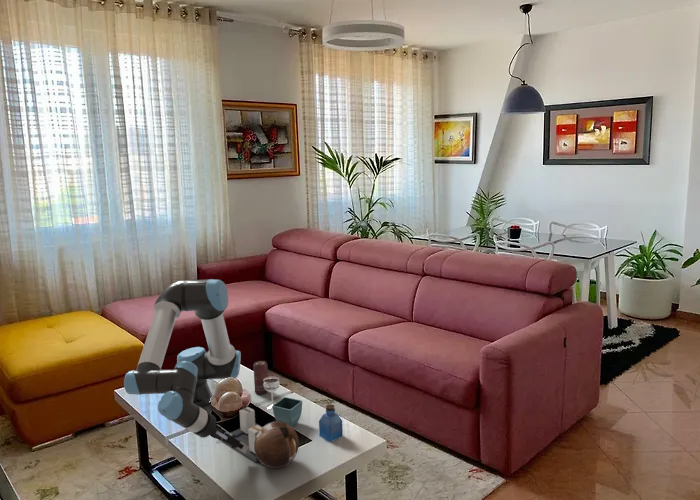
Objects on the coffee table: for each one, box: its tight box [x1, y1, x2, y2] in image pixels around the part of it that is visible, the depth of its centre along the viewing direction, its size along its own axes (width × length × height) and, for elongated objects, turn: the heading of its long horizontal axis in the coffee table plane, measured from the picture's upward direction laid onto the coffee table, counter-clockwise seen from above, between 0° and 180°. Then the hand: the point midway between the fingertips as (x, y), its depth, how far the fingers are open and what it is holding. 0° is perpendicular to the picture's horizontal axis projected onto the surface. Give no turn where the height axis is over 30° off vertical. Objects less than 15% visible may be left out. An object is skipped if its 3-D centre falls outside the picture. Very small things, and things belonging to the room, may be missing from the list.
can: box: [253, 360, 269, 396], centre depth 243 cm, size 6×6×14 cm
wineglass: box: [263, 376, 280, 410], centre depth 229 cm, size 7×7×12 cm
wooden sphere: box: [254, 420, 300, 469], centre depth 186 cm, size 15×15×15 cm
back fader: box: [239, 406, 256, 434], centre depth 207 cm, size 4×4×8 cm
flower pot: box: [272, 396, 303, 428], centre depth 214 cm, size 9×9×9 cm
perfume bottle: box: [318, 404, 344, 443], centre depth 204 cm, size 6×6×12 cm
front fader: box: [248, 424, 263, 453], centre depth 193 cm, size 4×4×8 cm
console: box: [220, 422, 263, 464], centre depth 201 cm, size 22×15×2 cm
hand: (246, 449), depth 189 cm, fingers closed
